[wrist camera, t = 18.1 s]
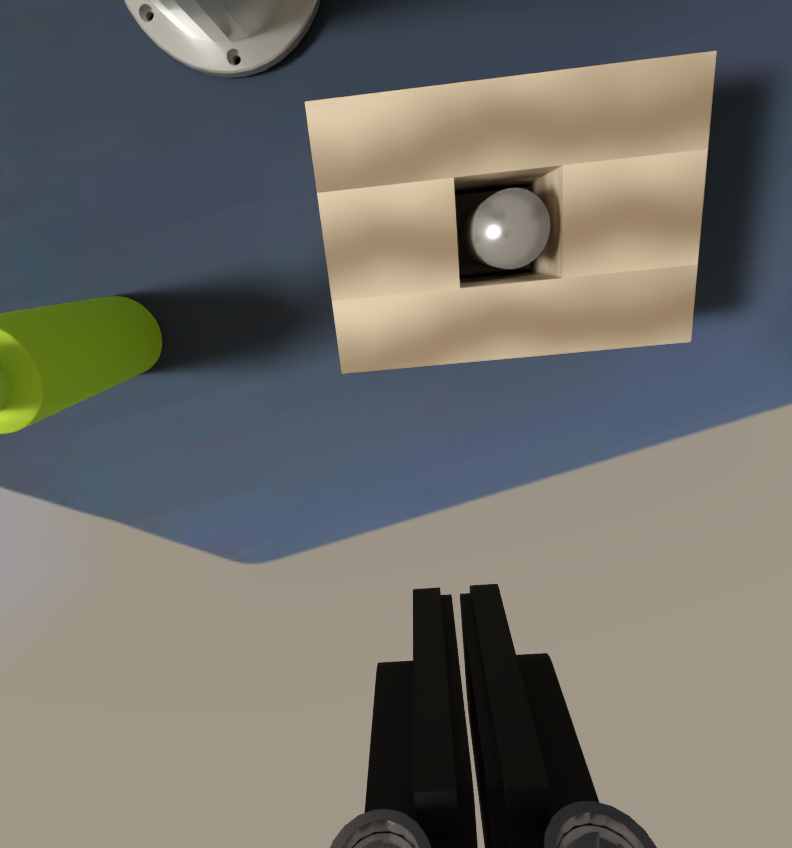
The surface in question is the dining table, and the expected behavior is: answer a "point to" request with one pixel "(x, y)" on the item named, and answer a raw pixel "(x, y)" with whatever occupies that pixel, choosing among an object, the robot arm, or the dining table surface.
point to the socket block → (548, 179)
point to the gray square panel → (463, 207)
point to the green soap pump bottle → (70, 355)
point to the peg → (507, 229)
